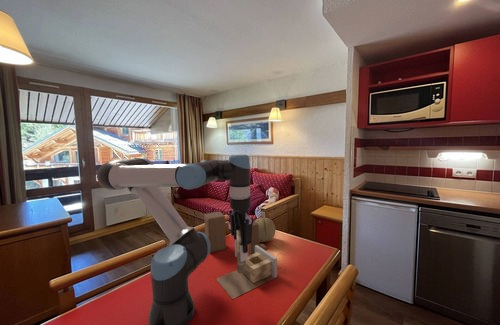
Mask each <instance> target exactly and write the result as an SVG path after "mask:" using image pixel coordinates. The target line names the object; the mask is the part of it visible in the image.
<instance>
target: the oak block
mask: <svg viewBox="0 0 500 325" xmlns="http://www.w3.org/2000/svg"><path fill="white" fill-rule="evenodd" d="M243 274H244V275H245V276H246V277H247V278H248V279H249V280H250V281H251V282H252V283H256V282H258V281H260V280H262V279H264V278H266V277H268V276H270V275H272V273H271V261H270V260H269V259H267V258H266V257H264V256H263V255H262V254H260V253H259V252H257V253H255V254H252V255H249V254H248V259H247V260H246V272H245V273H243Z"/></svg>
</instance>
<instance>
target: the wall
mask: <svg viewBox="0 0 500 325" xmlns="http://www.w3.org/2000/svg"><path fill="white" fill-rule="evenodd" d="M257 252H259V253H260V254H262V255H263V256H264V257H266V258H267V259H269V260H270V261H271V273H272V275H271V276H273V277H274V279H277V278H278V277H277V275H278V257H276V256H275V255H273V254H271V253H270V252H268V250H267V251H265V250H264V249H262V248H261V247H259V246H258V245H255V253H257Z"/></svg>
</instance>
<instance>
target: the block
mask: <svg viewBox="0 0 500 325" xmlns="http://www.w3.org/2000/svg"><path fill="white" fill-rule="evenodd" d="M203 218H204V234H205V235H206V236H207V237H208V239H209V241H210V246H211V247H210V253H209V254H211V253H217V252H220V251H225V250H226V248H227V239H226V238H227V237H226V236H227V235H226V231H227V230H226V216H225V215H224V213H222V212H221V211H214V212H208V213H205V214H204V217H203Z"/></svg>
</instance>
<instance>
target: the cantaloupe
mask: <svg viewBox="0 0 500 325" xmlns="http://www.w3.org/2000/svg"><path fill="white" fill-rule="evenodd" d="M254 222H256V223H257V224H258V225H259V243H260V242H261V243H266V242H269V241H271V240H273V238H275V234H276V225H275V223H274V221H273V220H272V219H270V218H268V217H264V216H263V215H260V217H258V218H256V220H254Z"/></svg>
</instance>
